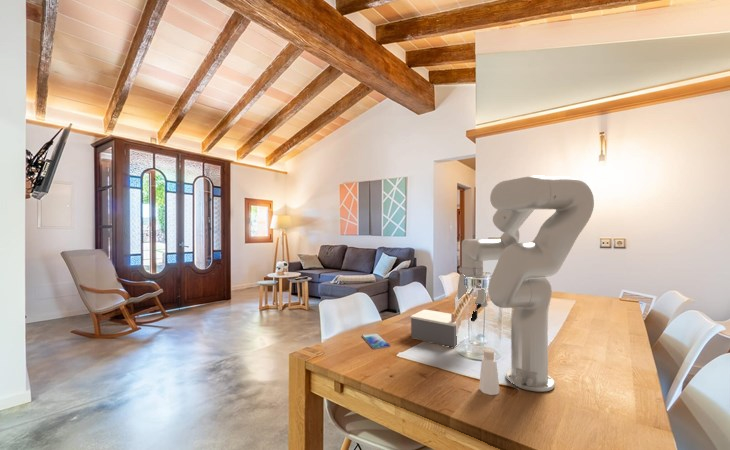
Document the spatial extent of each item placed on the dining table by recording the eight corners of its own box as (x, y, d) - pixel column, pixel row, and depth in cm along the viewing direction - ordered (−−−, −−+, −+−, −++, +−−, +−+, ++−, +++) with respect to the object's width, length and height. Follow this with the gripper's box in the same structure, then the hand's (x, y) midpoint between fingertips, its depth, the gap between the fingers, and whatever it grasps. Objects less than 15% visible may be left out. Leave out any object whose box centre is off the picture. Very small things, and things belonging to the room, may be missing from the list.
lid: (454, 326, 117) (454, 316, 117) (410, 318, 128) (410, 308, 128) (466, 318, 127) (465, 308, 127) (424, 311, 138) (424, 302, 138)
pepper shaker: (491, 397, 84) (491, 356, 84) (474, 388, 88) (474, 349, 88) (504, 391, 87) (503, 351, 87) (486, 383, 91) (486, 345, 91)
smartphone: (377, 333, 134) (391, 346, 120) (377, 335, 134) (391, 348, 120) (361, 334, 132) (373, 347, 117) (361, 336, 132) (373, 350, 117)
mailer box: (454, 348, 118) (454, 326, 118) (411, 338, 128) (411, 318, 128) (465, 338, 127) (465, 318, 127) (424, 330, 138) (424, 311, 138)
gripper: (449, 271, 121) (449, 319, 121) (490, 274, 112) (490, 326, 112) (456, 269, 127) (457, 314, 127) (495, 272, 118) (496, 321, 118)
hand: (472, 320), depth 119 cm, fingers closed
